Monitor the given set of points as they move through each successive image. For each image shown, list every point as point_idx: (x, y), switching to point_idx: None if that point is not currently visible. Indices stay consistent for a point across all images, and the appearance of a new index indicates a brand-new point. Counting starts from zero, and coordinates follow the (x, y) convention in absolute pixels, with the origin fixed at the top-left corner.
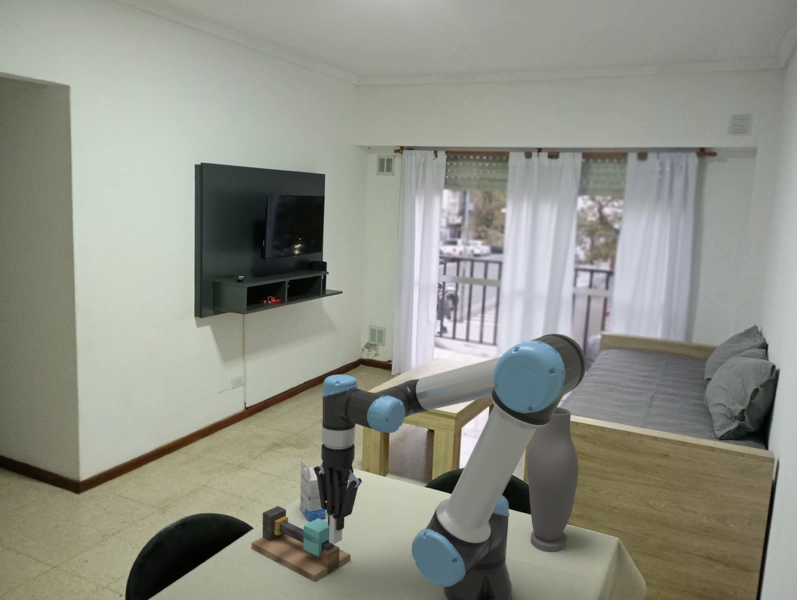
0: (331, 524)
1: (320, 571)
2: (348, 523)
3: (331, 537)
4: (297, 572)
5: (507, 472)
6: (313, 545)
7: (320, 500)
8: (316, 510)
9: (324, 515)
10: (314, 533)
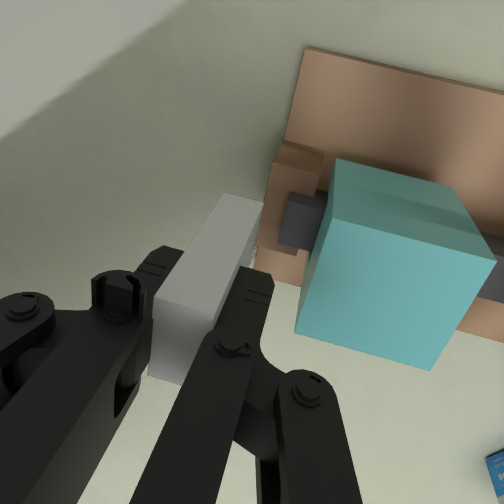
0: (212, 262)
1: (298, 98)
2: (384, 447)
3: (235, 214)
4: (429, 75)
5: None
6: (378, 186)
7: (349, 464)
8: None
9: (491, 467)
10: (377, 218)
